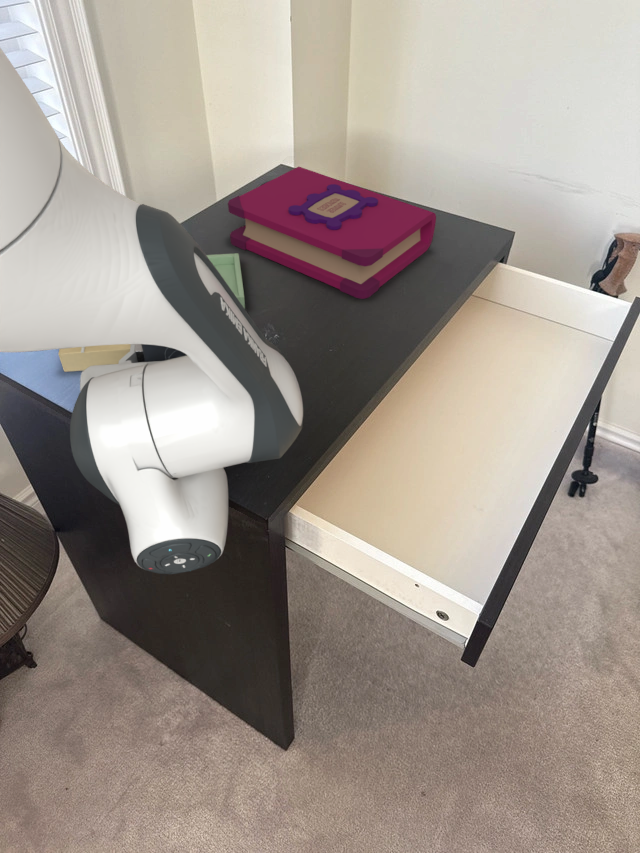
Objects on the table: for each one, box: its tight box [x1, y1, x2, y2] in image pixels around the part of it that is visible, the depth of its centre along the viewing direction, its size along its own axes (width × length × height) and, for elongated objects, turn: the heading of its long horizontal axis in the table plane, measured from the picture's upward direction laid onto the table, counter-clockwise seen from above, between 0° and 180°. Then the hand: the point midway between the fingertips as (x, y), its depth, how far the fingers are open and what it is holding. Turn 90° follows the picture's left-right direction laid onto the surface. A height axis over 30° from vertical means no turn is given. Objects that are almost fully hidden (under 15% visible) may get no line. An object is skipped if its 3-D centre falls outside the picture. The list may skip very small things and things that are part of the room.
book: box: [227, 166, 437, 300], centre depth 105 cm, size 21×28×8 cm
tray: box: [206, 252, 246, 310], centre depth 96 cm, size 15×13×2 cm
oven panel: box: [58, 344, 131, 373], centre depth 84 cm, size 11×8×3 cm
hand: (179, 345), depth 73 cm, fingers closed on box, 8 cm apart
